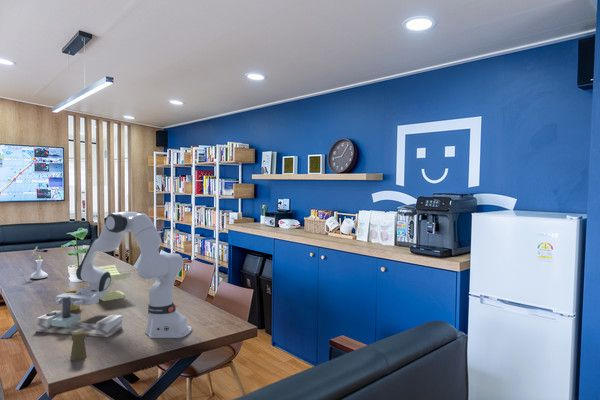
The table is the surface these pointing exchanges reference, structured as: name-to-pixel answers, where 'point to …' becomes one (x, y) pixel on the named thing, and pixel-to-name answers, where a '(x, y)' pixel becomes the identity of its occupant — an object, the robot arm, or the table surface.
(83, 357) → the olive brown pepper mill
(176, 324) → the robot arm
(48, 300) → the table surface
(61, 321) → the carriage
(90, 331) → the rail track
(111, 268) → the slatted curved stool
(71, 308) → the plant pot
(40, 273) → the flower in vase
